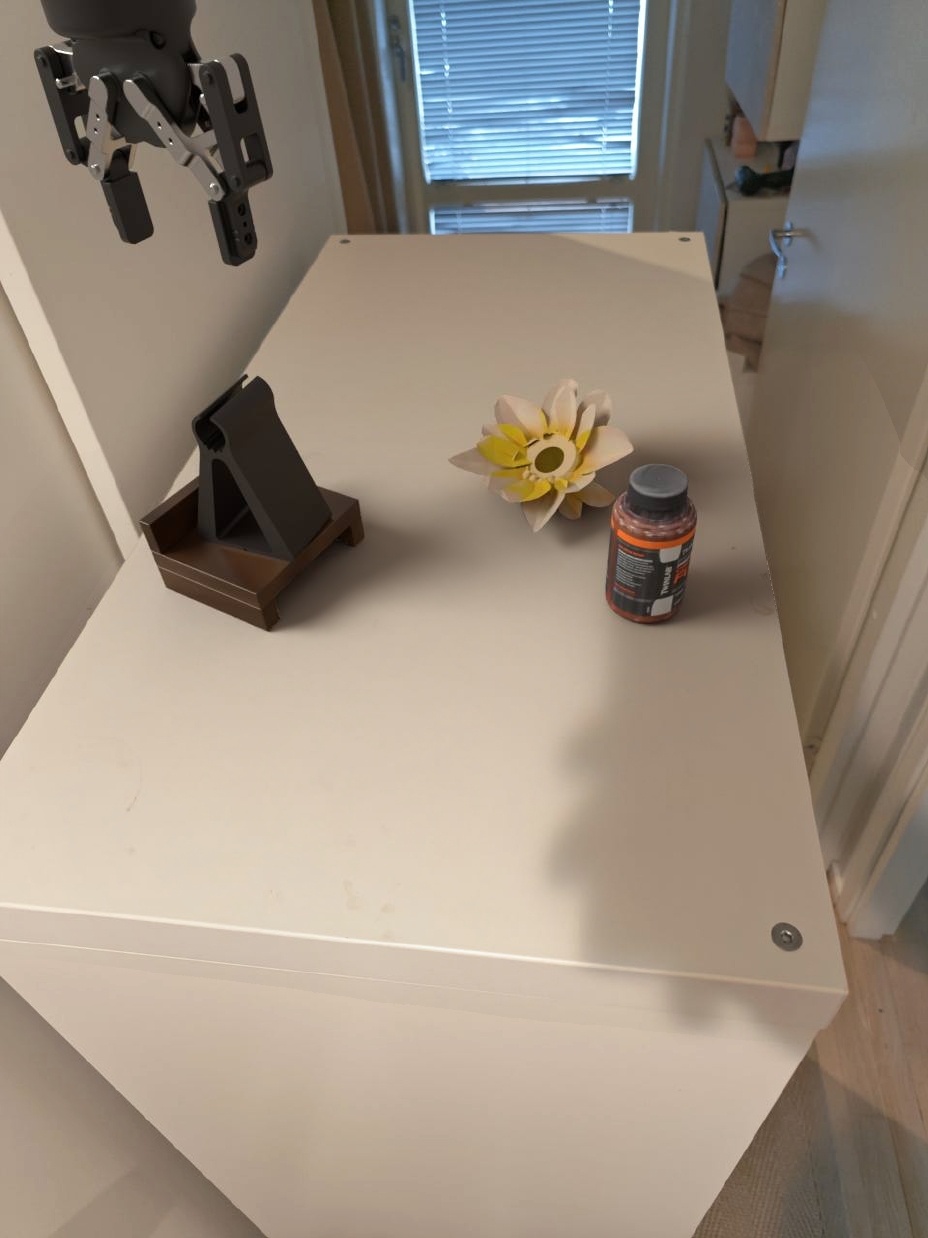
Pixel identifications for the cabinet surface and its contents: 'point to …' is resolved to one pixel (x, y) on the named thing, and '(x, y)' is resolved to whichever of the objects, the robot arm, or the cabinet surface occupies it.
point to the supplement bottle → (650, 545)
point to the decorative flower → (548, 452)
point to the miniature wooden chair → (235, 557)
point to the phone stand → (254, 477)
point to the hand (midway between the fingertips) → (188, 250)
